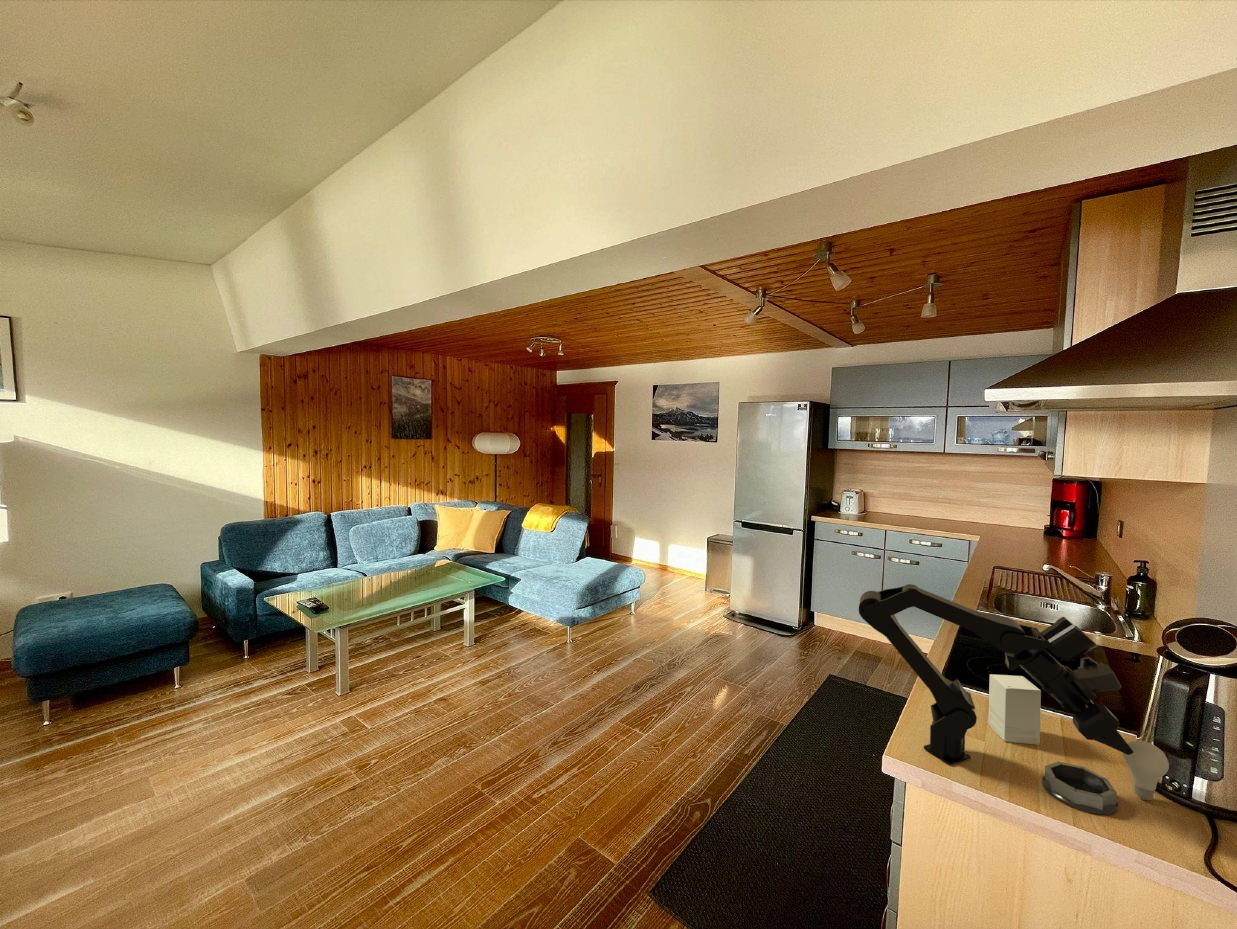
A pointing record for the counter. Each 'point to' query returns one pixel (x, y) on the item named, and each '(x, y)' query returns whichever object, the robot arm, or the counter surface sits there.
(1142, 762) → the lightbulb
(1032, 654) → the robot arm
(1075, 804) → the collar
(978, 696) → the counter surface
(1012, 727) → the supplement box
